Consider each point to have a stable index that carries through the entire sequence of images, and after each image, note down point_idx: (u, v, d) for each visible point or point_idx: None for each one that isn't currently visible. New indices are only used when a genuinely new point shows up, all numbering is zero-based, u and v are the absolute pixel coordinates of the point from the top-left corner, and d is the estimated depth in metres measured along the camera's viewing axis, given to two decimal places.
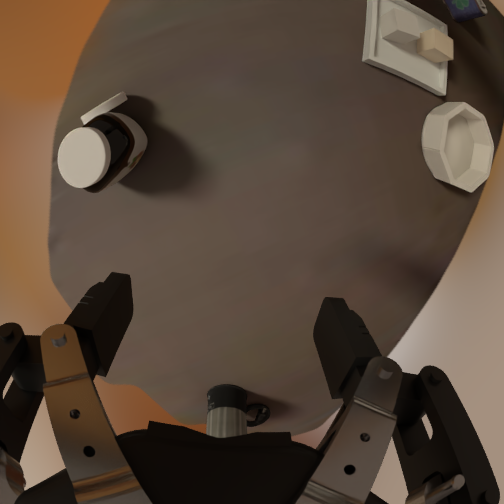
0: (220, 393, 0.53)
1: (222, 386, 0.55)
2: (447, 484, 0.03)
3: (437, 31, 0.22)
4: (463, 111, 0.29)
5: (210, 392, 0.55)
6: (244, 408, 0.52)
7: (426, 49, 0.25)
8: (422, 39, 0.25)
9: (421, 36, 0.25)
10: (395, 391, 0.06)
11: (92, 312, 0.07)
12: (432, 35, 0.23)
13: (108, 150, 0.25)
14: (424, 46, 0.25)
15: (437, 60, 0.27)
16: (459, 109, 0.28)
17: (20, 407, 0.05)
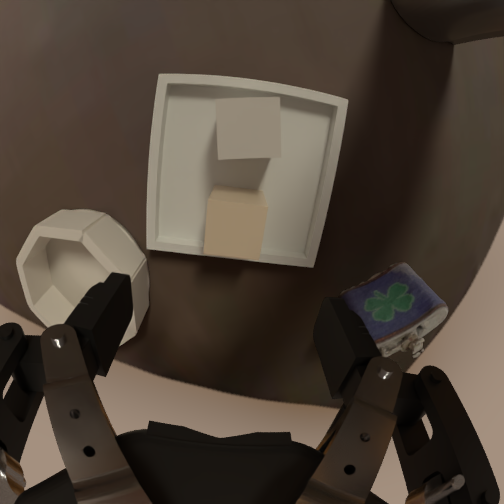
0: None
1: None
2: (447, 484, 0.03)
3: (261, 214, 0.18)
4: None
5: None
6: None
7: (212, 192, 0.20)
8: (242, 192, 0.21)
9: (253, 192, 0.21)
10: (395, 391, 0.06)
11: (92, 312, 0.07)
12: (246, 201, 0.18)
13: None
14: (223, 191, 0.20)
15: None
16: (110, 269, 0.20)
17: (20, 407, 0.05)
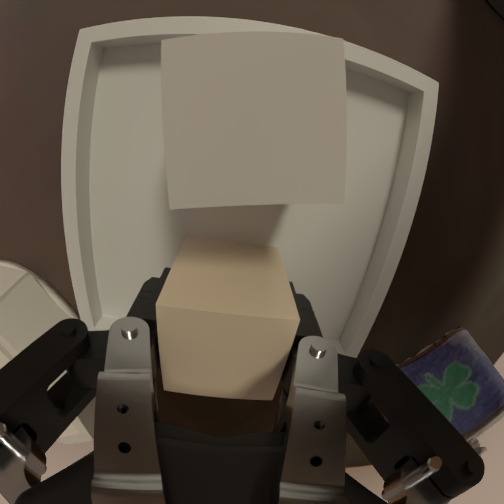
0: None
1: None
2: (424, 468, 0.04)
3: (282, 335, 0.08)
4: None
5: None
6: None
7: (173, 266, 0.09)
8: (239, 260, 0.10)
9: (260, 258, 0.11)
10: (324, 370, 0.07)
11: None
12: (247, 304, 0.08)
13: None
14: (197, 262, 0.10)
15: None
16: None
17: (66, 401, 0.06)
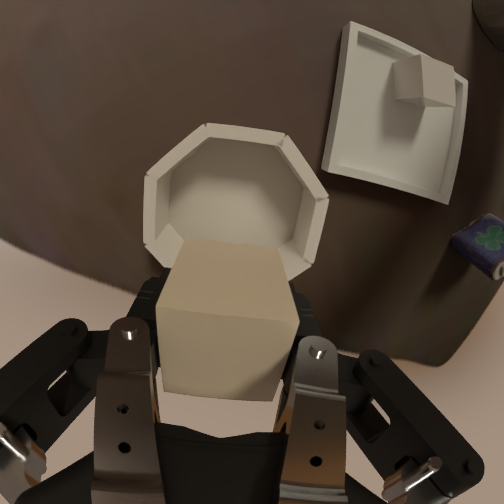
0: None
1: None
2: (424, 468, 0.04)
3: (281, 337, 0.08)
4: (307, 210, 0.22)
5: None
6: None
7: (173, 268, 0.09)
8: (239, 262, 0.10)
9: (260, 259, 0.11)
10: (323, 370, 0.07)
11: None
12: (247, 306, 0.08)
13: None
14: (197, 264, 0.10)
15: None
16: (310, 181, 0.20)
17: (66, 401, 0.06)
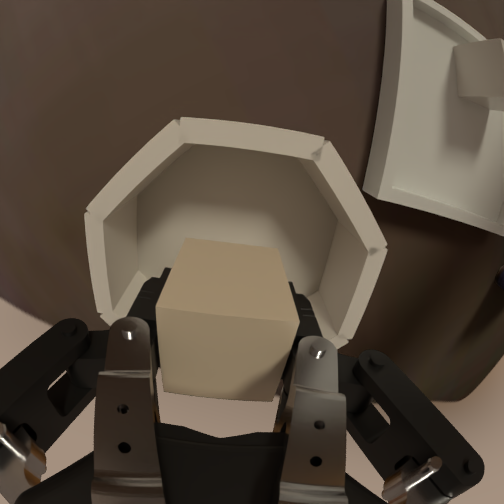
0: None
1: None
2: (424, 468, 0.04)
3: (281, 337, 0.08)
4: (347, 261, 0.14)
5: None
6: None
7: (173, 268, 0.09)
8: (239, 262, 0.10)
9: (260, 260, 0.11)
10: (323, 370, 0.07)
11: None
12: (247, 306, 0.08)
13: None
14: (197, 264, 0.10)
15: None
16: (362, 222, 0.11)
17: (66, 401, 0.06)
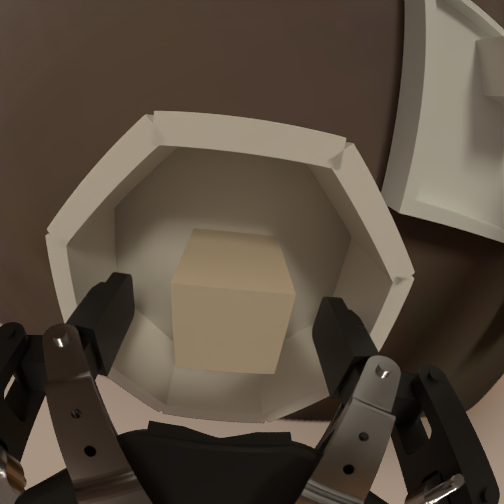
0: None
1: None
2: (447, 483, 0.03)
3: (280, 309, 0.09)
4: (364, 289, 0.11)
5: None
6: None
7: (184, 253, 0.10)
8: (242, 247, 0.12)
9: (261, 245, 0.12)
10: (393, 390, 0.06)
11: (94, 311, 0.07)
12: (250, 282, 0.09)
13: None
14: (205, 249, 0.11)
15: None
16: (388, 247, 0.09)
17: (21, 407, 0.05)
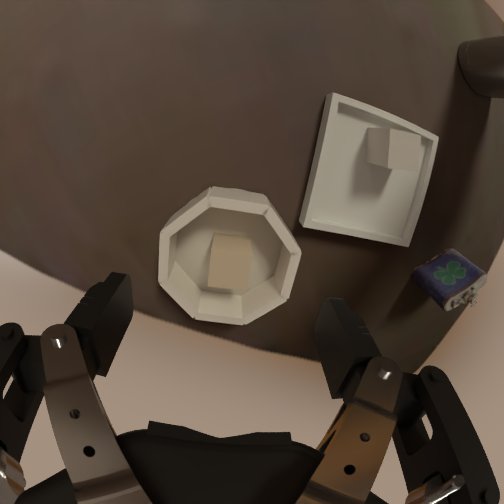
0: None
1: None
2: (447, 484, 0.03)
3: (247, 260, 0.27)
4: (285, 258, 0.29)
5: None
6: None
7: (213, 241, 0.28)
8: (234, 240, 0.29)
9: (242, 240, 0.30)
10: (395, 391, 0.06)
11: (92, 312, 0.07)
12: (237, 251, 0.27)
13: None
14: (220, 240, 0.29)
15: None
16: (286, 240, 0.27)
17: (20, 407, 0.05)
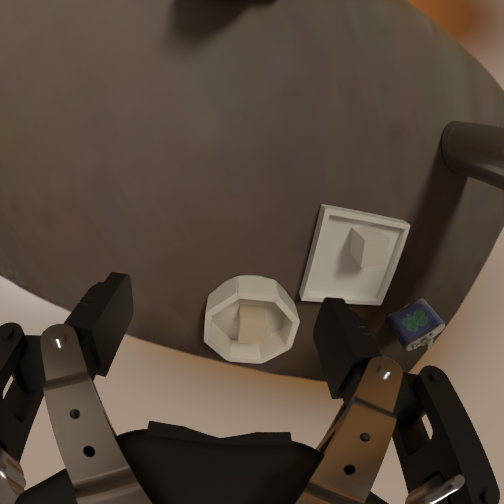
0: None
1: None
2: (447, 484, 0.03)
3: (264, 328, 0.40)
4: (289, 322, 0.42)
5: None
6: None
7: (240, 314, 0.41)
8: (254, 311, 0.42)
9: (259, 310, 0.43)
10: (395, 391, 0.06)
11: (92, 312, 0.07)
12: (257, 322, 0.40)
13: None
14: (245, 312, 0.42)
15: None
16: (289, 315, 0.40)
17: (20, 407, 0.05)
